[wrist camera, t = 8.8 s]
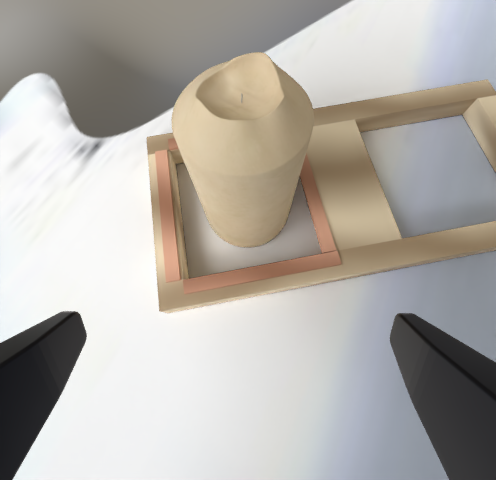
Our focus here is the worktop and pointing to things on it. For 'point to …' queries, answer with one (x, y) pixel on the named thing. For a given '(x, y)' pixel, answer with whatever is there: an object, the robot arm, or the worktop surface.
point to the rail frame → (328, 203)
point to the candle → (244, 145)
